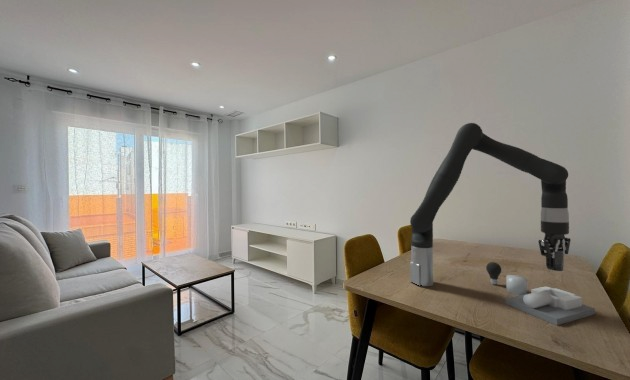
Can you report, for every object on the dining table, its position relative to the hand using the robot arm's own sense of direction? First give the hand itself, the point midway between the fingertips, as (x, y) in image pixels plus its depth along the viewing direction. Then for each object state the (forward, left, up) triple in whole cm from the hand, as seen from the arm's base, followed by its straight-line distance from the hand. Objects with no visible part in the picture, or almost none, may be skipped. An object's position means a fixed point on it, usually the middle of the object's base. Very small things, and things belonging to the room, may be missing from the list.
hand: (554, 266), depth 93 cm
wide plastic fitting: (+1, +14, -15) cm, 20 cm away
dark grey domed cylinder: (0, 0, -1) cm, 1 cm away
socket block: (-4, 0, -15) cm, 15 cm away
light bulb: (0, +23, -15) cm, 27 cm away
